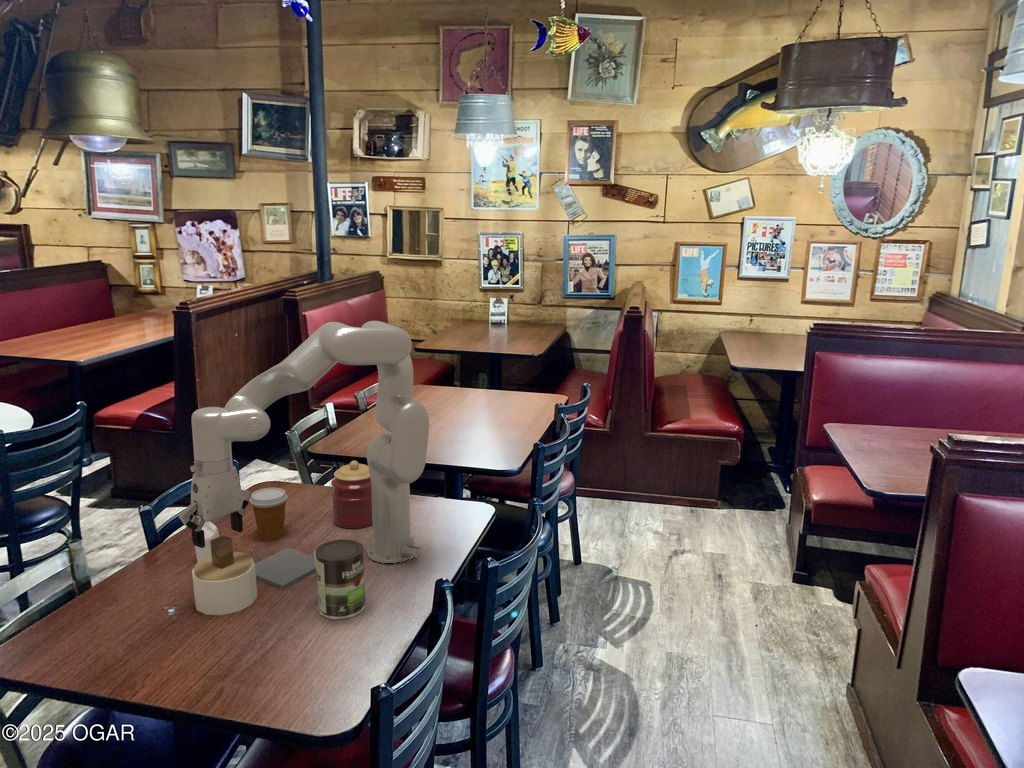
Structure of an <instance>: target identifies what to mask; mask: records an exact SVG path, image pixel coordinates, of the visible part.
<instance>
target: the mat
mask: <svg viewBox="0 0 1024 768" xmlns="http://www.w3.org/2000/svg"><path fill="white" fill-rule="evenodd" d="M254 564H255V573H256V580H258V581H260V582H262V583H265V584H268V585H271V586H273V587H275V588H277V589H281V590H285V589H287V588H288V587H290V586H292V585H294V584H296V583H298V582H299V581H301V580H303V579H305V578H308V577H309V576H311V575H312V574H314V573H317V572H316V566H315V560H314V556H312V555H309V554H306V553H303V552H301V551H298V550H295V549H292V548H290V547H286V548H285V549H282V550H280V551H278V552H276V553H274V554H272V555H270V556H268V557H266V558H265V557H264V559H262V560H259V561H258V562H254Z"/></svg>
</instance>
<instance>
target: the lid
mask: <svg viewBox="0 0 1024 768" xmlns="http://www.w3.org/2000/svg"><path fill="white" fill-rule="evenodd" d="M210 544H211V556H208V557H206V558H204V559H202V560H200V561H199V562H197V563H196V564H195V565H194V567H193V569H194V573H195V575H196V576H197V577H198V578H200V579H202V580H208V581H220V580H227V579H231V578H234V577H237V576H240V575H242V574H244V573H245V572H247V571H248V570H249V569H250V568H251V566H252V559H253V558H252V557H251V556H250V555H248V554H247V553H244V552H242V551H241V552H239V551H234V550H233V549H234V548H233V538H231V537H229V536H227V535H223V534H222V535H219V537H217V538H215V539H212V540H210ZM251 558H252V559H251Z"/></svg>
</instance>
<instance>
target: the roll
mask: <svg viewBox="0 0 1024 768" xmlns="http://www.w3.org/2000/svg"><path fill="white" fill-rule="evenodd" d="M199 520H200V519H199ZM199 520H198V522H199ZM198 522H197V523H198ZM201 530H204V537H205V547H204V548H200V547H197V546H195V545H194V550H195V556H196V562H197V563H198V562H199V561H200V560H202V559H204V558H206V557H208V556H211V544H210V540H212V539H215V538H217V537H219V536H220V534H219V529H218V527H217V526H216V525H215V524H214V523H212V521H206V522H205V524H204V525H203V527H202V529H201Z"/></svg>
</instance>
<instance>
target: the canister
mask: <svg viewBox="0 0 1024 768" xmlns="http://www.w3.org/2000/svg"><path fill="white" fill-rule="evenodd" d="M333 476H334V478H333V479H332V480H331V482H330V485H331V486H332V488H333V489H332V491H331V497H332V518H333V522H334V524H335V525H336V526H338V527H340V528H343V529H344V528H345V529H363V528H366V527H370V526H373V523H372V493H371V479H370V473H369V467H368V464H367V465H366V464H363V463H359V462H358V461H357V460H352V461H350V462H349V464H345V465H342V466H341V467H340V468H338V469H336V471H335V472H333Z"/></svg>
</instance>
